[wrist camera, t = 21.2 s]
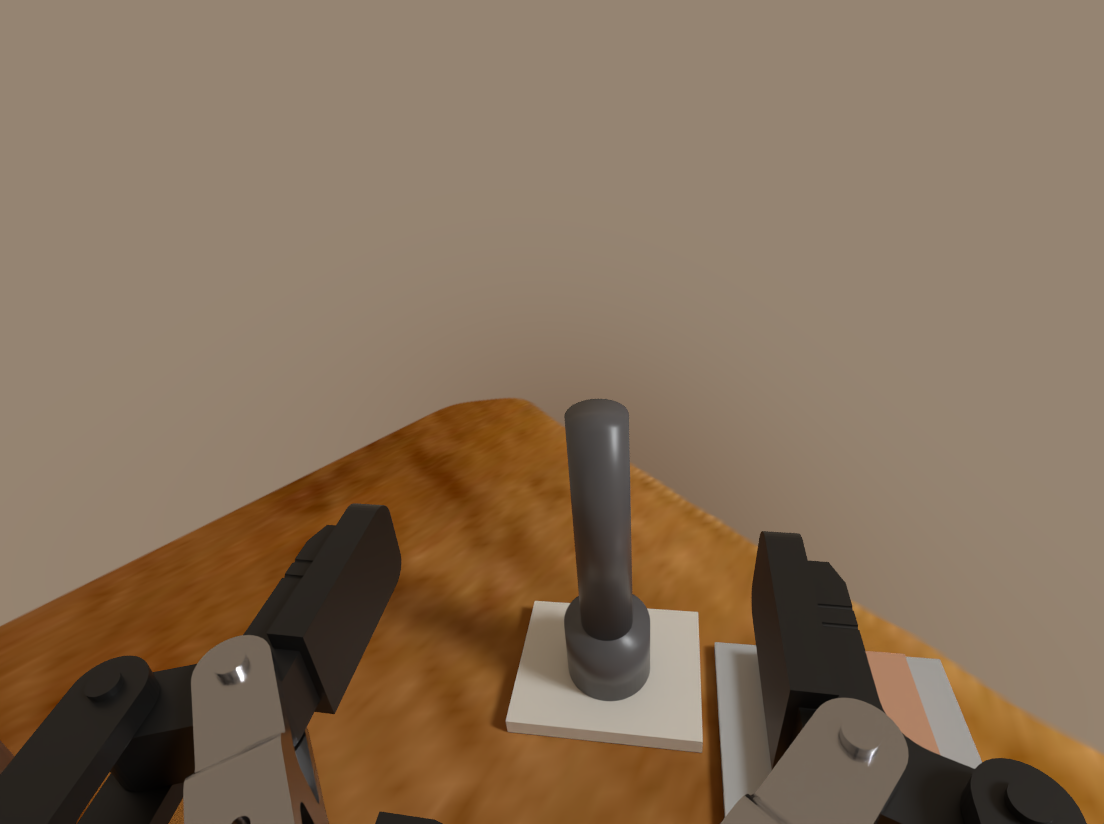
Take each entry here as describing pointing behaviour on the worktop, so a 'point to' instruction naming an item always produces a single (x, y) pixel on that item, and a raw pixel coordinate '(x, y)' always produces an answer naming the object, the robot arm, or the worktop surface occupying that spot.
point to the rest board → (642, 719)
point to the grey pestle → (603, 557)
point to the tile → (901, 697)
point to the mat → (747, 726)
